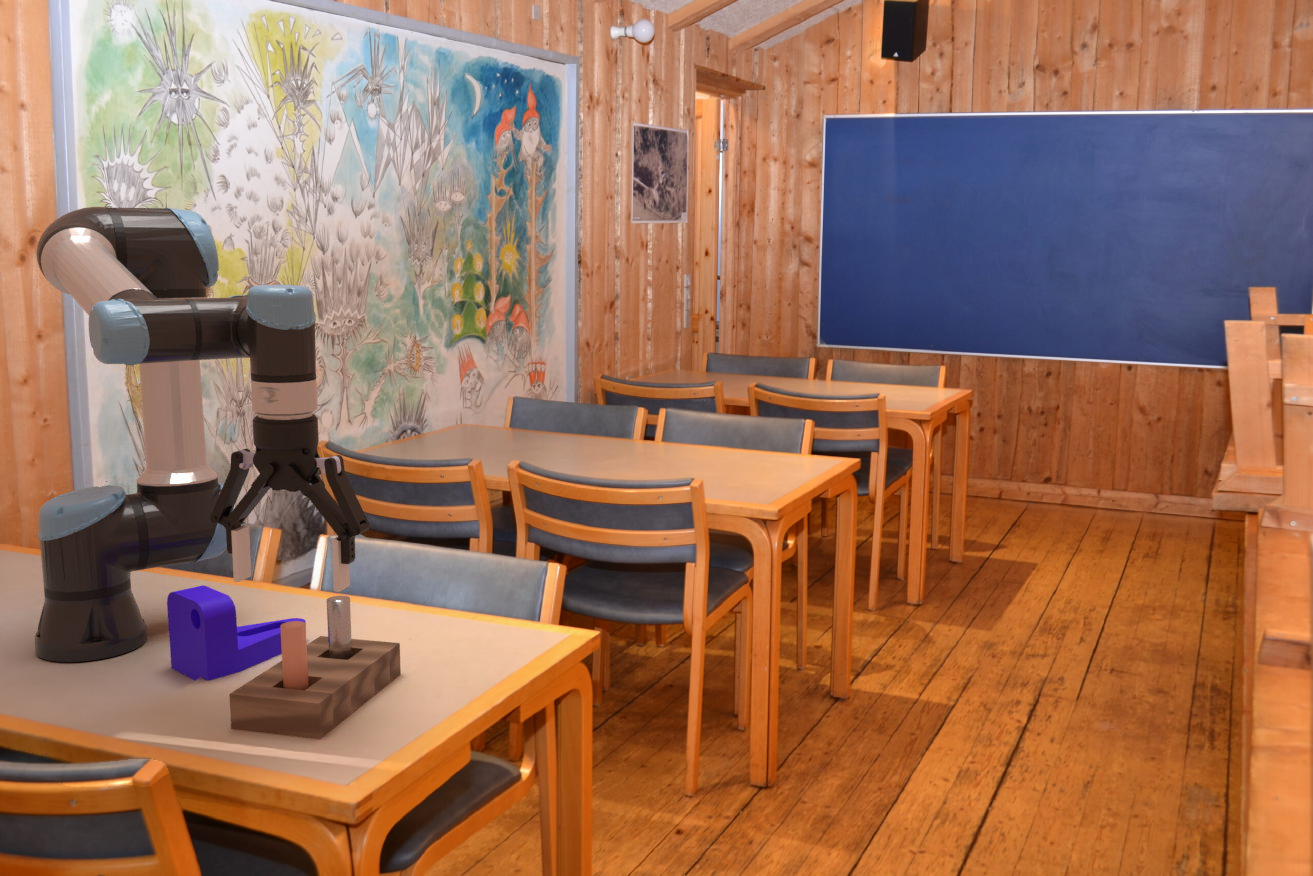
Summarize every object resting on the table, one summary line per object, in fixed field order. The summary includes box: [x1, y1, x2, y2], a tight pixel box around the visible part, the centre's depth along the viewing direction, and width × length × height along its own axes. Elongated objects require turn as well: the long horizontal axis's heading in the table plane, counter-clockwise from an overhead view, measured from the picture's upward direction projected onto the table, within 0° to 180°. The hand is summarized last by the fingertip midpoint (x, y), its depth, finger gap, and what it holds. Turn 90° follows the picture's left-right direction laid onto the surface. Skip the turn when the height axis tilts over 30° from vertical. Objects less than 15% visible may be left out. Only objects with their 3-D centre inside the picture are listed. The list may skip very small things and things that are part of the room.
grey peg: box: [326, 595, 352, 660], centre depth 156 cm, size 3×3×12 cm
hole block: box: [229, 635, 401, 740], centre depth 152 cm, size 22×12×6 cm, turn 167°
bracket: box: [166, 584, 307, 682], centre depth 168 cm, size 18×11×12 cm, turn 138°
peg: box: [280, 621, 309, 690], centre depth 146 cm, size 3×3×12 cm
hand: (291, 583), depth 144 cm, fingers open, 13 cm apart
